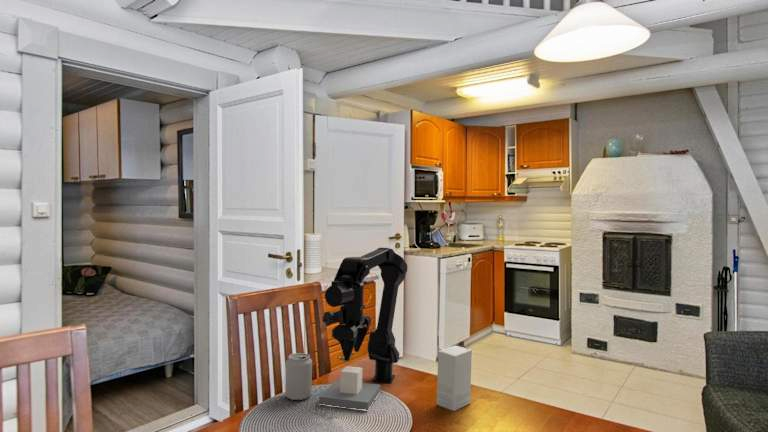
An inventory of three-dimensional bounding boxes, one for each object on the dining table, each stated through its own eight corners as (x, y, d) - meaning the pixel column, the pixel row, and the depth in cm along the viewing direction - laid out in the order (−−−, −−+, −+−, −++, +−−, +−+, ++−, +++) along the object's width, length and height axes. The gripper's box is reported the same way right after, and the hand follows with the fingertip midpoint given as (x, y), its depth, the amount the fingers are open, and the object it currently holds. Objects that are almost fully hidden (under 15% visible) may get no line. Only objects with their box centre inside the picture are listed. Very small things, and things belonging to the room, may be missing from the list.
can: (305, 403, 130) (306, 360, 130) (280, 400, 131) (281, 358, 131) (314, 393, 137) (316, 352, 137) (291, 391, 138) (292, 350, 138)
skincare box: (453, 397, 137) (454, 344, 137) (472, 404, 132) (473, 349, 132) (435, 405, 131) (436, 349, 131) (454, 412, 126) (455, 355, 126)
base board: (336, 387, 142) (336, 379, 142) (380, 393, 138) (380, 384, 138) (318, 405, 128) (319, 396, 128) (367, 411, 125) (367, 402, 125)
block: (345, 386, 136) (346, 365, 136) (362, 388, 135) (362, 367, 135) (340, 392, 132) (340, 371, 132) (357, 394, 130) (357, 373, 130)
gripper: (337, 295, 144) (336, 345, 144) (314, 305, 126) (313, 362, 126) (372, 297, 142) (370, 348, 142) (353, 308, 124) (352, 366, 124)
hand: (351, 356), depth 133 cm, fingers open, 9 cm apart
